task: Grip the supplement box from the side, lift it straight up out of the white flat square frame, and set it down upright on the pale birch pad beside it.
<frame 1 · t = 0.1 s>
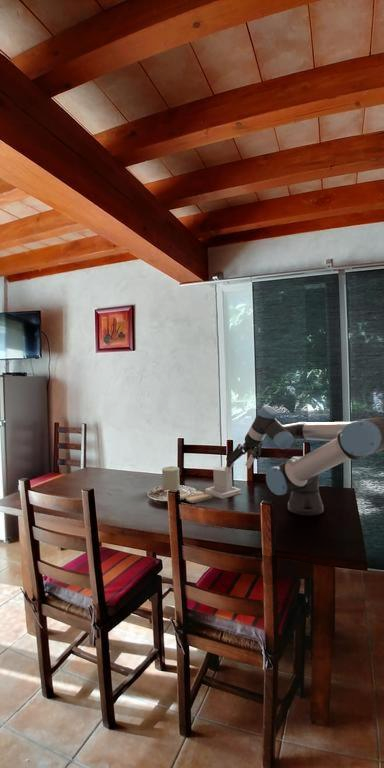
hand: (237, 468, 189), 15 cm above the table, tool tilted 35°, fingers open, 13 cm apart
can: (171, 490, 209), on the table
white flat square frame: (223, 492, 202), on the table
pad: (195, 497, 196), on the table
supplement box: (223, 493, 202), resting in white flat square frame
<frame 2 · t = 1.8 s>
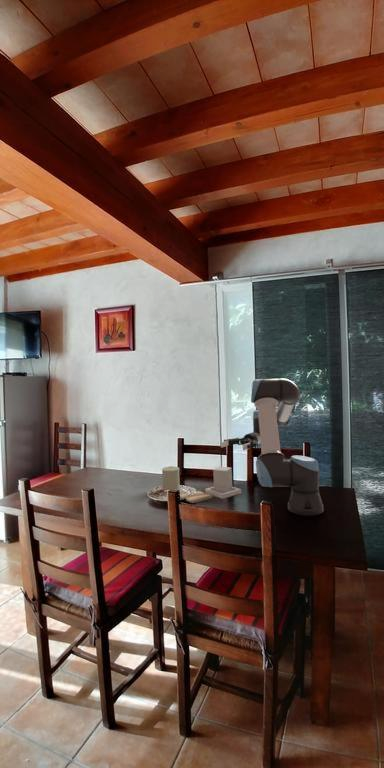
hand: (232, 446, 208), 22 cm above the table, tool horizontal, fingers open, 13 cm apart
nothing on the table moved.
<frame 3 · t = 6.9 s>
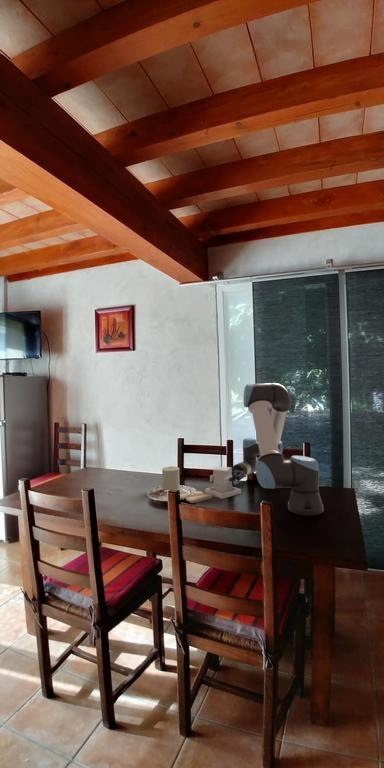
hand: (217, 479, 198), 8 cm above the table, tool horizontal, fingers closed on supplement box, 8 cm apart
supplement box: (223, 493, 202), resting in white flat square frame, touching gripper
everything else where it was.
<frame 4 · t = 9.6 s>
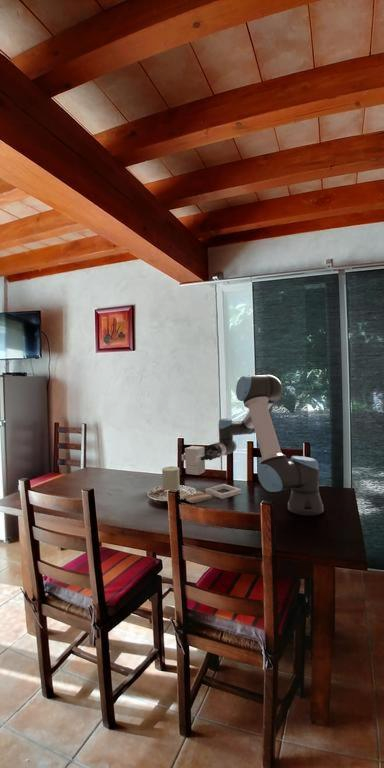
hand: (188, 458, 192), 20 cm above the table, tool horizontal, fingers closed on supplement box, 8 cm apart
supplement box: (195, 473, 196), point 12 cm above the table, touching gripper
everything else where it was.
when the fingers open (10 cm above the table, at t = 12.4 s): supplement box drops 1 cm, resting on pad.
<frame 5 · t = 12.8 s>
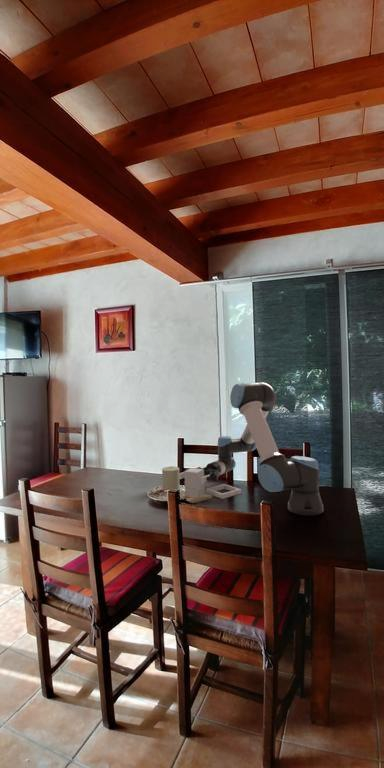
hand: (190, 478, 193), 10 cm above the table, tool horizontal, fingers open, 13 cm apart
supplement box: (195, 495, 196), point 1 cm above the table, touching pad
everything else where it was.
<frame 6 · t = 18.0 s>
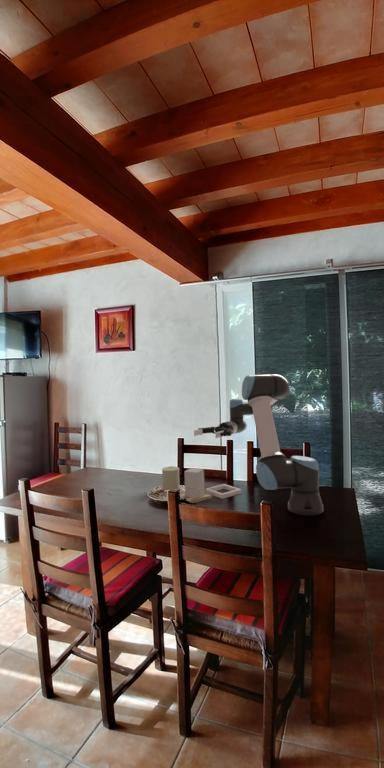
hand: (205, 434, 202), 30 cm above the table, tool horizontal, fingers open, 13 cm apart
nothing on the table moved.
at the end: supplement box inside the target area on the pad (0.1 cm from its centre), point 0.8 cm above the pad's base; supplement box tilted 0°; the gripper is holding nothing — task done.
